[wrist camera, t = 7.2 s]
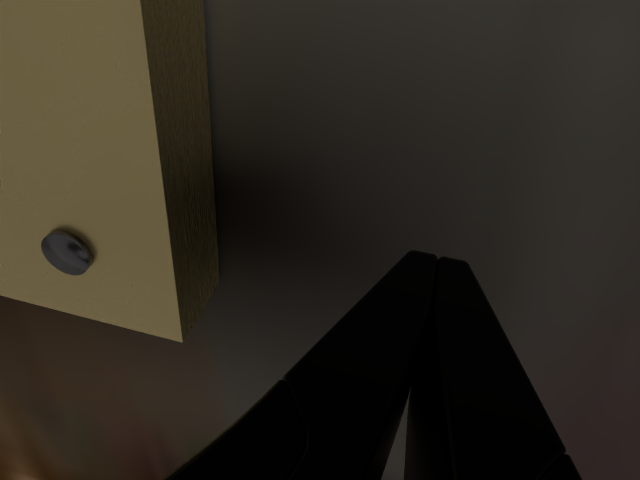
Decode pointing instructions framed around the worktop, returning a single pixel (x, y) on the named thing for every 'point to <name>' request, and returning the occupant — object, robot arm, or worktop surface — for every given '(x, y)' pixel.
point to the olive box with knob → (107, 161)
